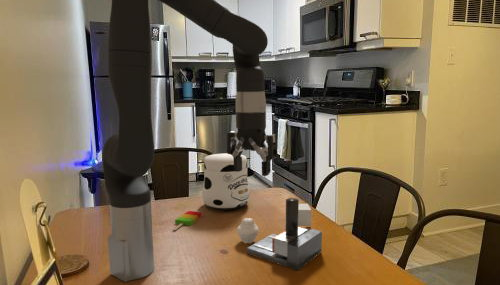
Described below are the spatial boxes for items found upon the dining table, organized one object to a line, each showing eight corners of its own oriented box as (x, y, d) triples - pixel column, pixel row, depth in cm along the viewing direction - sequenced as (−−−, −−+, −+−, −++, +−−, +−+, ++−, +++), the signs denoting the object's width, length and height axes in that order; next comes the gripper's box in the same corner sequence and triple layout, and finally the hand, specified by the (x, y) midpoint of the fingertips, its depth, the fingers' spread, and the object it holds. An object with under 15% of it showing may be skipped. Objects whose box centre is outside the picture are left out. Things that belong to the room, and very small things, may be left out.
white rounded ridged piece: (246, 235, 113) (246, 212, 111) (263, 240, 109) (263, 217, 108) (232, 242, 108) (232, 218, 107) (249, 248, 104) (249, 223, 103)
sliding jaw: (287, 257, 94) (288, 206, 92) (272, 252, 97) (272, 202, 95) (307, 243, 102) (308, 196, 100) (293, 239, 105) (293, 193, 102)
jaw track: (297, 270, 91) (298, 247, 90) (247, 253, 101) (247, 231, 100) (321, 253, 101) (321, 231, 100) (273, 238, 110) (273, 218, 109)
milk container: (249, 213, 131) (249, 162, 128) (199, 213, 131) (197, 162, 128) (250, 198, 148) (250, 152, 145) (205, 198, 148) (204, 152, 145)
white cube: (307, 221, 124) (307, 203, 123) (310, 228, 118) (311, 209, 117) (288, 221, 124) (288, 203, 123) (291, 228, 118) (292, 210, 117)
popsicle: (202, 217, 129) (202, 211, 129) (181, 234, 115) (181, 228, 115) (188, 215, 131) (187, 210, 130) (165, 232, 117) (165, 226, 116)
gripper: (219, 110, 96) (221, 172, 99) (265, 112, 88) (266, 180, 91) (237, 108, 102) (239, 167, 105) (283, 109, 94) (283, 174, 96)
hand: (251, 173), depth 98 cm, fingers open, 8 cm apart
